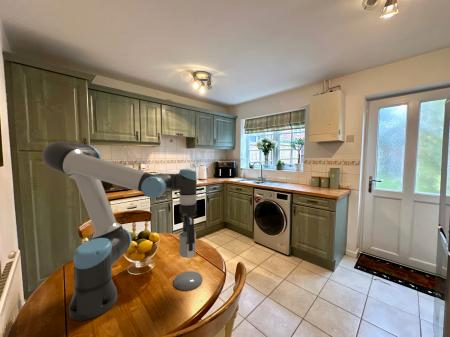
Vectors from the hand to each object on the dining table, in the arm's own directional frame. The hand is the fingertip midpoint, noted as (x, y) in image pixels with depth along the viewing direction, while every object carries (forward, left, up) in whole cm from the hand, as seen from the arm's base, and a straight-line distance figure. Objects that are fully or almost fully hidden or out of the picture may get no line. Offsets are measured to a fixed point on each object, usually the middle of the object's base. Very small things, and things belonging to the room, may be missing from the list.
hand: (188, 251), depth 86 cm
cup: (0, 0, 0) cm, 0 cm away
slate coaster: (0, 0, -14) cm, 14 cm away
